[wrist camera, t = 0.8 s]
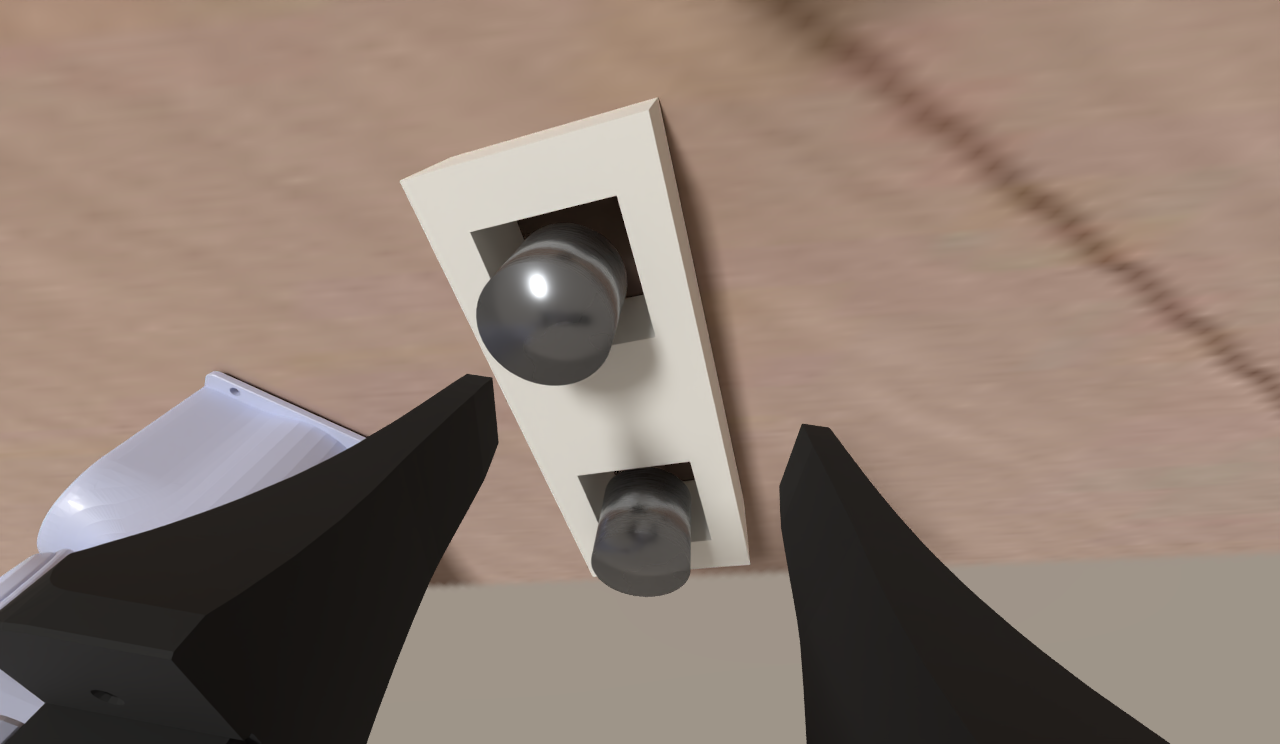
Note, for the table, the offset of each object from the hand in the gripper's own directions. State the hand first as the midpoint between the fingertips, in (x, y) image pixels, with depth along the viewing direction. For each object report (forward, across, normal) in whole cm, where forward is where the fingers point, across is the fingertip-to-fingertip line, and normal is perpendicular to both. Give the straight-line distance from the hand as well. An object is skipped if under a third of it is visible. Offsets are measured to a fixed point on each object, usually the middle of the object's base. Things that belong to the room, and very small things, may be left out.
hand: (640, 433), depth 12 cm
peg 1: (+7, +3, 0) cm, 8 cm away
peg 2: (+7, 0, +10) cm, 12 cm away
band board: (+10, +2, +5) cm, 12 cm away
